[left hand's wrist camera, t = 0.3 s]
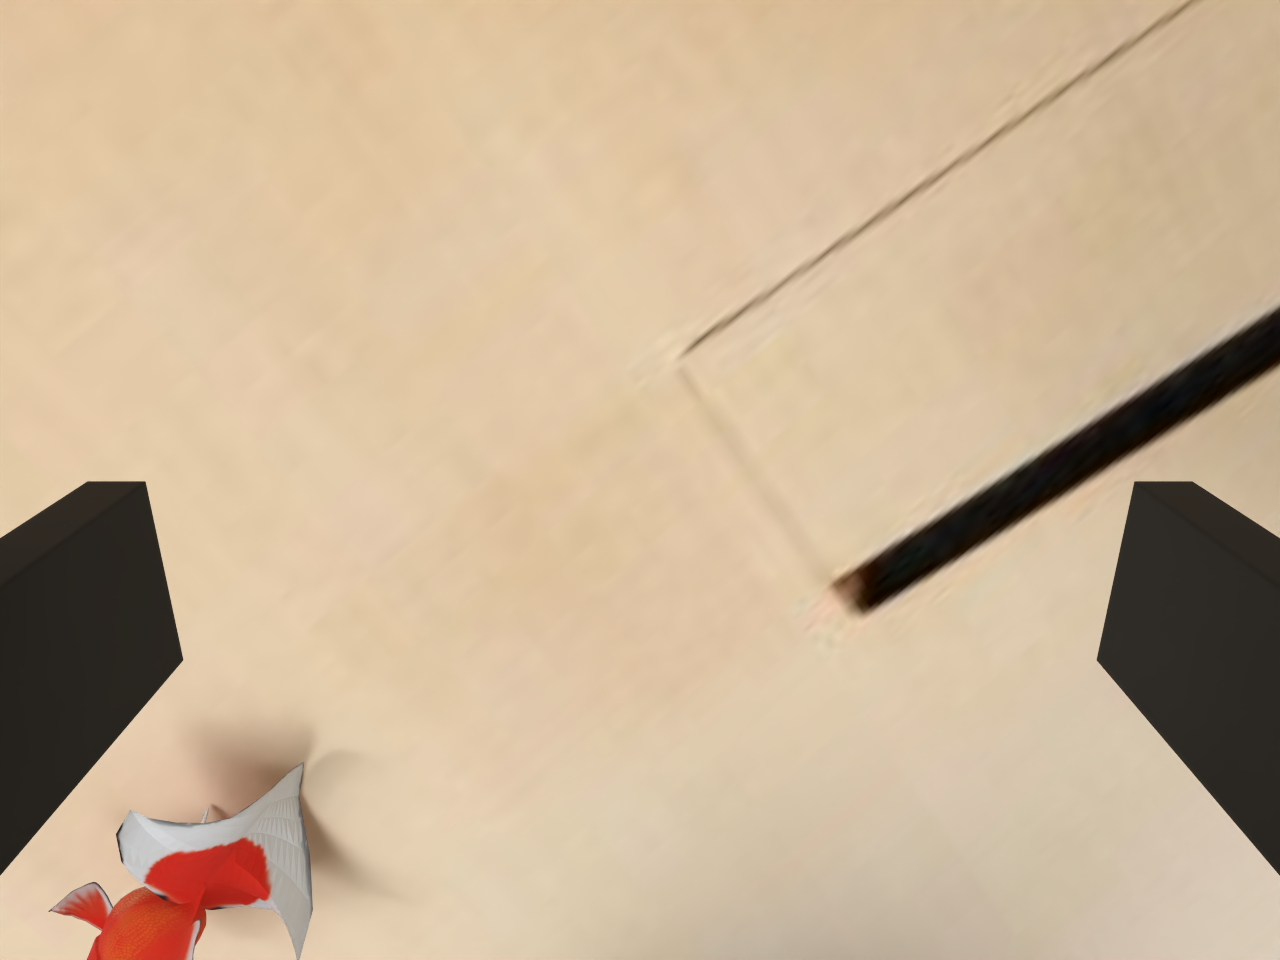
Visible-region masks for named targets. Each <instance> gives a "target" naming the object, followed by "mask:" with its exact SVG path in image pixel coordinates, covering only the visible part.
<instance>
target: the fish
mask: <svg viewBox="0 0 1280 960" xmlns="http://www.w3.org/2000/svg"><path fill="white" fill-rule="evenodd" d="M303 766H304V763H303V762H302V763H301V764H300V765H298V766H297V767H295V768H294V769H292V770H291V771H290V772H289V773H288V774H287V775H286V776H285V777H283V778H282V779H281V780H280V781H279V782H278V783H277V784H276V785H275V786H274V787H273V788H272V789H271V790H270V791H269V792H268V793H266V794H265V795H264V796H262V797H261V798H259V799H258V800H257V801H255V802H254V803H253V804H251V805H250V806H248V807H247V808H245V809H244V810H242V811H241V812H239V813H238V814H236V815H235V816H233V817H232V818H229V819H224V820H220V821H215V822H210V823H205V822H206V818H207V814H208V808H207V809H206V812H205V814H204V817H203V819H202V821H201V823H175V822H169V821H162V820H156V819H150V818H147V817H145V816H143V815H141V814H139V813H137V812H135V811H133V810H130V812H129V814H128V815H127V817H126V819H125V820H124V822H123V823H122V825H121V827H120V828H119V830H118V832H117V833H116V837H117V842H118V847H119V852H120V856H121V861H122V863H123V864H124V866H125V867H126V868H127V870H128V871H129V872H130V874H131V875H132V876H133V877H135V878H136V879H137V880H138V881H139V882H140V883H142V884H143V885H144V886H145V887H142V888H139V889H136V890H134V891H132V892H130V893H129V894H127V895H126V896H124V897H123V898H122V899H121V900H120V901H119V902H118V903H117V904H116V905H115V906H114V907H113V906H112V904H111V902H110V900H109V898H108V896H107V895H106V893H105V892H104V890H103V889H102V888H101V887H100V885H99V884H97V883H96V882H92V883H89V884H86V885H84V886H82V887H80V888H78V889H76V890H74V891H72V892H71V893H69V894H68V895H67V896H66V897H65V898H64V899H63V900H61V901H60V902H59V903H58V904H57V905H56V906H55V907H53V908H52V909H51V910H50V911H53V912H56V913H59V914H62V915H69V916H73V917H75V918H77V919H80V920H84V921H86V922H88V923H90V924H91V925H93V926H94V927H96V928H98V929H99V930H101V931H102V932H101V934H100V935H99V936H97V937H96V939H95V941H94V943H93V946H92V948H91V951H90V953H89V956H88V958H87V960H193V953H194V947H195V945H196V944H197V942H198V940H199V939H200V937H201V935H202V932H203V930H204V928H205V926H206V911H205V909H208V910H216V909H223V908H231V907H239V906H251V907H256V908H262V909H271V910H274V911H275V912H276V913H277V914H278V915H279V916H280V917H281V919H282V921H283V922H284V924H285V925H286V927H287V929H288V931H289V934H290V937H291V939H292V942H293V946H294V949H295V952H296V957H297V960H299V959H300V955H301V951H302V948H303V944H304V940H305V937H306V933H307V929H308V925H309V922H310V918H311V914H312V910H313V906H312V887H311V868H310V854H309V849H308V844H307V838H306V833H305V828H304V822H303V816H302V810H301V804H300V799H299V793H300V787H301V781H302V772H303ZM50 911H48V912H50Z"/></svg>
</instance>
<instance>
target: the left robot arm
mask: <svg viewBox="0 0 1280 960" xmlns="http://www.w3.org/2000/svg"><path fill="white" fill-rule="evenodd" d="M182 661H183V656H182V652H181V647H180V642H179V637H178V633H177V628H176V623H175V619H174V614H173V609H172V604H171V600H170V595H169V590H168V586H167V581H166V576H165V571H164V567H163V562H162V557H161V553H160V548H159V543H158V539H157V534H156V529H155V524H154V520H153V515H152V510H151V506H150V501H149V496H148V491H147V487H146V482H86V483H85V484H83V485H82V486H80V487H78V488H77V489H75V490H74V491H72V492H71V493H69V494H68V495H66V496H65V497H63V498H62V499H60V500H58V501H57V502H55V503H54V504H52V505H51V506H49V507H48V508H46V509H45V510H43V511H42V512H40V513H38V514H37V515H35V516H34V517H32V518H31V519H29V520H28V521H26V522H25V523H23V524H21V525H20V526H18V527H17V528H15V529H14V530H12V531H11V532H9V533H8V534H6V535H5V536H3V537H1V538H0V875H1V874H2V873H3V872H4V870H5V869H6V868H7V867H8V866H9V865H10V863H11V862H12V861H13V860H14V859H15V857H16V856H17V855H18V854H19V853H20V852H21V850H22V849H23V848H24V847H25V846H26V845H27V843H28V842H29V841H30V840H31V839H32V837H33V836H34V835H35V834H36V833H37V832H38V830H39V829H40V828H41V827H42V826H43V825H44V823H45V822H46V821H47V820H48V819H49V817H50V816H51V815H52V814H53V813H54V812H55V810H56V809H57V808H58V807H59V806H60V805H61V803H62V802H63V801H64V800H65V799H66V797H67V796H68V795H69V794H70V793H71V792H72V790H73V789H74V788H75V787H76V786H77V785H78V783H79V782H80V781H81V780H82V779H83V777H84V776H85V775H86V774H87V773H88V772H89V770H90V769H91V768H92V767H93V766H94V765H95V763H96V762H97V761H98V760H99V759H100V757H101V756H102V755H103V754H104V753H105V752H106V750H107V749H108V748H109V747H110V746H111V745H112V743H113V742H114V741H115V740H116V739H117V737H118V736H119V735H120V734H121V733H122V732H123V730H124V729H125V728H126V727H127V726H128V725H129V723H130V722H131V721H132V720H133V719H134V717H135V716H136V715H137V714H138V713H139V712H140V710H141V709H142V708H143V707H144V706H145V705H146V703H147V702H148V701H149V700H150V699H151V697H152V696H153V695H154V694H155V693H156V692H157V690H158V689H159V688H160V687H161V686H162V685H163V683H164V682H165V681H166V680H167V679H168V677H169V676H170V675H171V674H172V673H173V672H174V670H175V669H176V668H177V667H178V666H179V665H180V663H181V662H182ZM1097 661H1098V662H1099V663H1100V665H1101V666H1102V667H1103V668H1104V669H1105V670H1106V672H1107V673H1108V674H1109V675H1110V676H1111V677H1112V679H1113V680H1114V681H1115V682H1116V683H1117V685H1118V686H1119V687H1120V688H1121V689H1122V690H1123V692H1124V693H1125V694H1126V695H1127V696H1128V697H1129V699H1130V700H1131V701H1132V702H1133V703H1134V705H1135V706H1136V707H1137V708H1138V709H1139V710H1140V712H1141V713H1142V714H1143V715H1144V716H1145V717H1146V719H1147V720H1148V721H1149V722H1150V723H1151V725H1152V726H1153V727H1154V728H1155V729H1156V730H1157V732H1158V733H1159V734H1160V735H1161V736H1162V737H1163V739H1164V740H1165V741H1166V742H1167V743H1168V745H1169V746H1170V747H1171V748H1172V749H1173V750H1174V752H1175V753H1176V754H1177V755H1178V756H1179V757H1180V759H1181V760H1182V761H1183V762H1184V763H1185V765H1186V766H1187V767H1188V768H1189V769H1190V770H1191V772H1192V773H1193V774H1194V775H1195V776H1196V777H1197V779H1198V780H1199V781H1200V782H1201V783H1202V785H1203V786H1204V787H1205V788H1206V789H1207V790H1208V792H1209V793H1210V794H1211V795H1212V796H1213V797H1214V799H1215V800H1216V801H1217V802H1218V803H1219V805H1220V806H1221V807H1222V808H1223V809H1224V810H1225V812H1226V813H1227V814H1228V815H1229V816H1230V817H1231V819H1232V820H1233V821H1234V822H1235V823H1236V825H1237V826H1238V827H1239V828H1240V829H1241V830H1242V832H1243V833H1244V834H1245V835H1246V836H1247V837H1248V839H1249V840H1250V841H1251V842H1252V843H1253V845H1254V846H1255V847H1256V848H1257V849H1258V850H1259V852H1260V853H1261V854H1262V855H1263V856H1264V857H1265V859H1266V860H1267V861H1268V862H1269V863H1270V865H1271V866H1272V867H1273V868H1274V869H1275V870H1276V872H1277V873H1278V874H1279V875H1280V538H1279V537H1277V536H1275V535H1274V534H1272V533H1271V532H1269V531H1268V530H1266V529H1265V528H1263V527H1262V526H1260V525H1259V524H1257V523H1255V522H1254V521H1252V520H1251V519H1249V518H1248V517H1246V516H1245V515H1243V514H1242V513H1240V512H1238V511H1237V510H1235V509H1234V508H1232V507H1231V506H1229V505H1228V504H1226V503H1225V502H1223V501H1222V500H1220V499H1218V498H1217V497H1215V496H1214V495H1212V494H1211V493H1209V492H1208V491H1206V490H1205V489H1203V488H1202V487H1200V486H1198V485H1197V484H1195V483H1194V482H1134V487H1133V491H1132V496H1131V501H1130V506H1129V510H1128V515H1127V520H1126V524H1125V529H1124V534H1123V539H1122V543H1121V548H1120V553H1119V557H1118V562H1117V567H1116V571H1115V576H1114V581H1113V586H1112V590H1111V595H1110V600H1109V604H1108V609H1107V614H1106V619H1105V623H1104V628H1103V633H1102V637H1101V642H1100V647H1099V652H1098V656H1097Z"/></svg>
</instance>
